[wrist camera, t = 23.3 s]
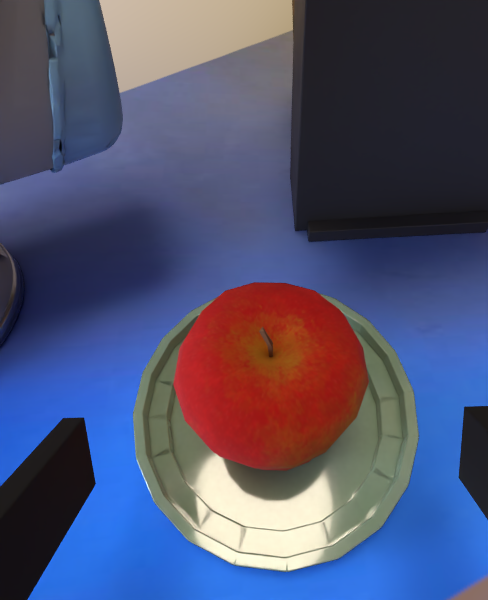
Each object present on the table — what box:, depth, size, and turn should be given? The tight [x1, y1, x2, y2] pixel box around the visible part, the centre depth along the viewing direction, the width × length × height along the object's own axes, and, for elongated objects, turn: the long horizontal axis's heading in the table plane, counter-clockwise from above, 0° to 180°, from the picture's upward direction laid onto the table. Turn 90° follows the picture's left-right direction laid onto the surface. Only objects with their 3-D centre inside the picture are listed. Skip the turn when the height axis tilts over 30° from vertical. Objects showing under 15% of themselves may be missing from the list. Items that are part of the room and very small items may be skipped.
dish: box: [133, 293, 419, 572], centre depth 25 cm, size 16×16×3 cm
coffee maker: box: [290, 0, 488, 241], centre depth 20 cm, size 12×16×31 cm
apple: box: [173, 282, 369, 471], centre depth 20 cm, size 9×8×12 cm
